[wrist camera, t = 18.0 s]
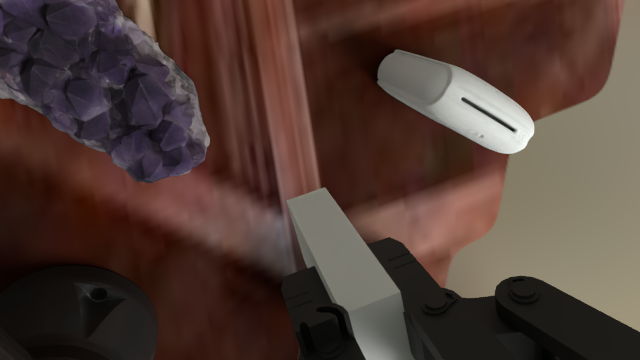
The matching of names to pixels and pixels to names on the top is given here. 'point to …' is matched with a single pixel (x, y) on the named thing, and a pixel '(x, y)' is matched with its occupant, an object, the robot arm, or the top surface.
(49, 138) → the top surface
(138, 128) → the geode
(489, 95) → the white slotted device
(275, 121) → the top surface
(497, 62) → the top surface
